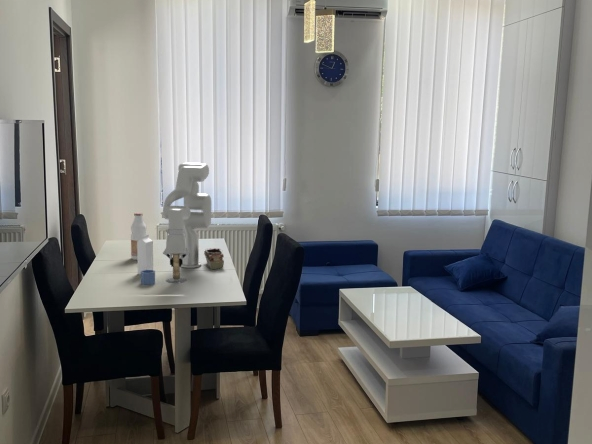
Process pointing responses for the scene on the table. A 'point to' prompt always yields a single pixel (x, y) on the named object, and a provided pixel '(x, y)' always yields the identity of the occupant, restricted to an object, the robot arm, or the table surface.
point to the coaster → (176, 280)
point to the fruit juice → (137, 233)
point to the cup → (147, 277)
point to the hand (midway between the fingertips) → (176, 265)
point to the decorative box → (214, 258)
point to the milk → (145, 254)
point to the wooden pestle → (176, 266)
